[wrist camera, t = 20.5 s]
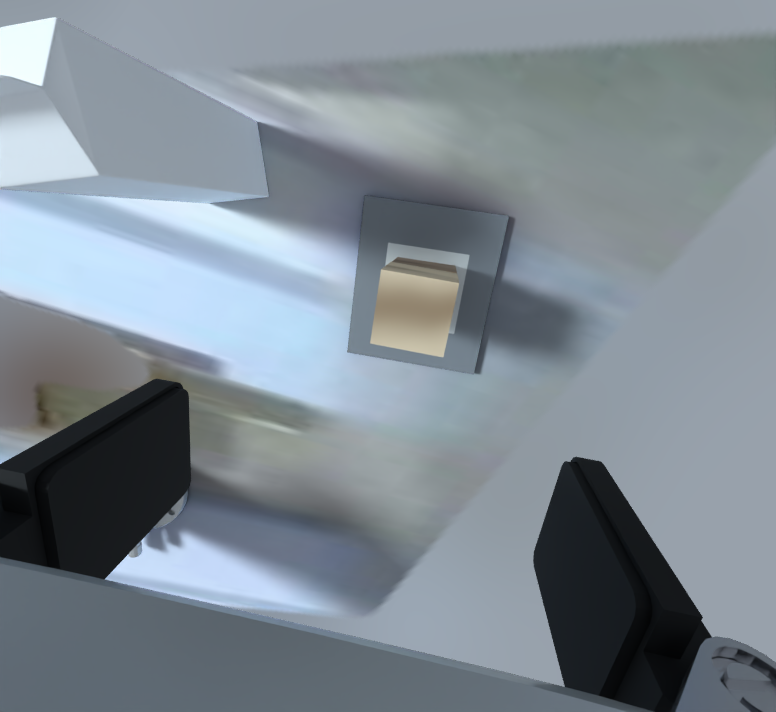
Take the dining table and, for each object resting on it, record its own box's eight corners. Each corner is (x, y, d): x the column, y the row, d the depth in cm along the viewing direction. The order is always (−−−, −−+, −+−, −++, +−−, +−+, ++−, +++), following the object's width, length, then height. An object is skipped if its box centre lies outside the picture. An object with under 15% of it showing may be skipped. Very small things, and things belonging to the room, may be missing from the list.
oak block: (443, 337, 32) (443, 357, 27) (380, 325, 32) (370, 343, 28) (457, 273, 30) (459, 283, 26) (390, 261, 31) (381, 269, 26)
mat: (473, 372, 39) (473, 374, 38) (348, 350, 40) (347, 352, 39) (508, 216, 34) (509, 215, 33) (365, 195, 35) (364, 195, 34)
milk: (270, 197, 36) (37, 172, 15) (206, 203, 37) (-96, 188, 16) (257, 119, 34) (-28, -30, 13) (190, 127, 35) (-175, 0, 14)
